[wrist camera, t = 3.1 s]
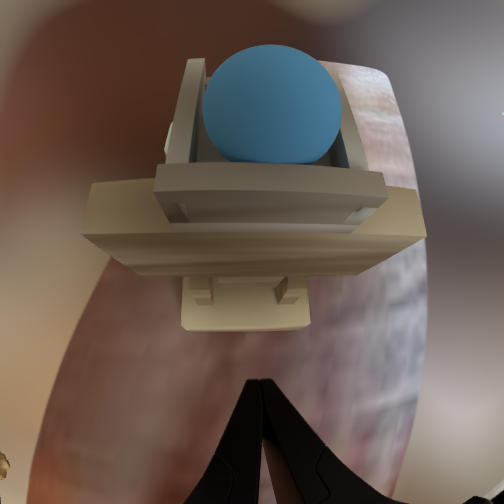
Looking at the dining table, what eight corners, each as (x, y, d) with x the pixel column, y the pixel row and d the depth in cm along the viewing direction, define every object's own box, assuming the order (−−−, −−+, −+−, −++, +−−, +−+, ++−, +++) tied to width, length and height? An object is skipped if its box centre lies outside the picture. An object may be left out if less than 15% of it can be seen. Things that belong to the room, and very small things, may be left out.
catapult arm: (331, 287, 16) (471, 208, 5) (160, 289, 15) (39, 200, 4) (323, 210, 17) (412, 76, 7) (166, 209, 17) (101, 60, 6)
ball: (332, 205, 6) (383, 101, 4) (202, 202, 6) (186, 83, 3) (311, 124, 8) (335, 37, 5) (210, 120, 7) (207, 27, 5)
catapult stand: (301, 329, 19) (328, 311, 14) (187, 331, 18) (168, 313, 13) (295, 264, 21) (317, 225, 16) (190, 264, 20) (175, 224, 15)
